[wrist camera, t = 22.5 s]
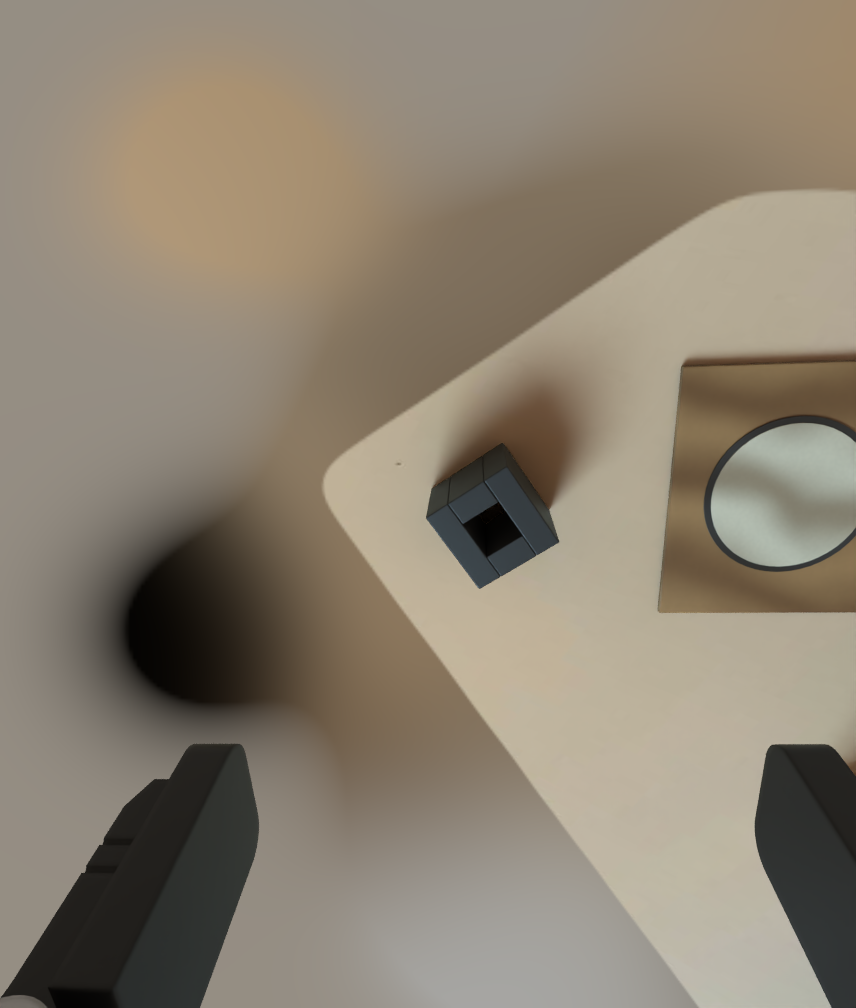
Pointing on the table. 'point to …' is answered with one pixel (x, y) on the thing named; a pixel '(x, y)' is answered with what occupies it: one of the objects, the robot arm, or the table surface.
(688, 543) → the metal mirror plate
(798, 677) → the table surface
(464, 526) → the holder
